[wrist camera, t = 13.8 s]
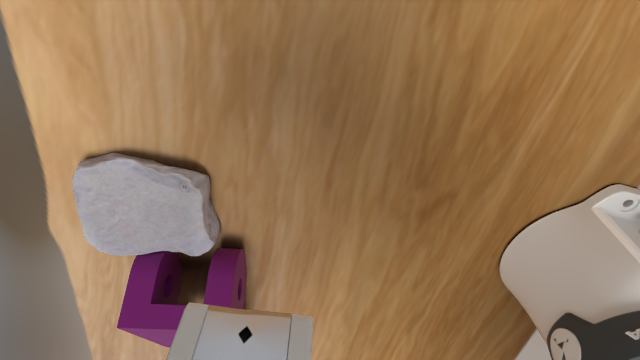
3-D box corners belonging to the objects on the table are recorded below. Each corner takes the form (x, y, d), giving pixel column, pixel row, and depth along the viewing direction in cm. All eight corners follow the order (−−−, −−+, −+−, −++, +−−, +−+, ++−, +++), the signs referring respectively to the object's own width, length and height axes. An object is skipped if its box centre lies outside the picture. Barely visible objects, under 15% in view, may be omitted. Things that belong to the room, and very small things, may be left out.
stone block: (83, 141, 38) (104, 235, 43) (54, 161, 34) (81, 264, 38) (215, 142, 39) (223, 235, 43) (204, 163, 34) (214, 263, 39)
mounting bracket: (257, 284, 56) (239, 238, 40) (250, 352, 52) (228, 331, 36) (185, 281, 56) (139, 233, 40) (173, 350, 52) (116, 327, 36)
